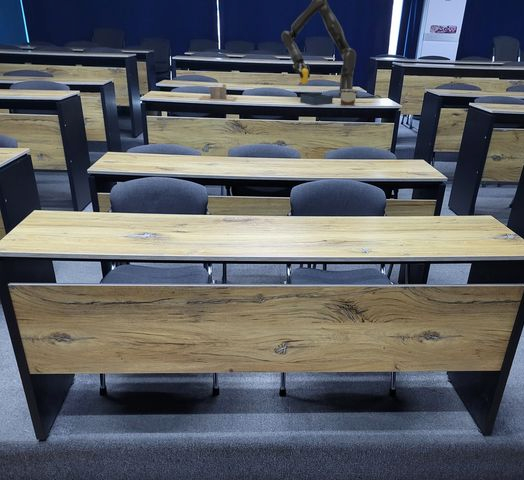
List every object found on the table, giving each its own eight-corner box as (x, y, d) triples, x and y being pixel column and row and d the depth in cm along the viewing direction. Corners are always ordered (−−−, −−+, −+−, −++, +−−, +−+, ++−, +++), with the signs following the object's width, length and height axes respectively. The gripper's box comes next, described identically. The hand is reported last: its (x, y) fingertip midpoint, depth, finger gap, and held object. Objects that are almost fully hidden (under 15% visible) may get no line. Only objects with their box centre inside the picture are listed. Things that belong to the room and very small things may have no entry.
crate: (318, 100, 389) (318, 92, 386) (332, 103, 379) (333, 95, 376) (299, 101, 380) (300, 94, 377) (314, 105, 370) (314, 97, 367)
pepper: (304, 82, 387) (305, 66, 381) (309, 83, 383) (310, 67, 377) (298, 82, 384) (299, 66, 378) (303, 83, 380) (304, 67, 374)
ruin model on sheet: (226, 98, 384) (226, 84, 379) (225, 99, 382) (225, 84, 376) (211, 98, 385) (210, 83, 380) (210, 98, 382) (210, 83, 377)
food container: (355, 104, 377) (357, 89, 371) (356, 105, 372) (357, 90, 366) (338, 103, 378) (340, 88, 372) (338, 105, 372) (340, 89, 367)
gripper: (291, 53, 374) (300, 73, 373) (306, 53, 382) (315, 73, 380) (286, 61, 381) (295, 81, 380) (301, 60, 388) (310, 80, 387)
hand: (305, 77), depth 380 cm, fingers closed on pepper, 5 cm apart
